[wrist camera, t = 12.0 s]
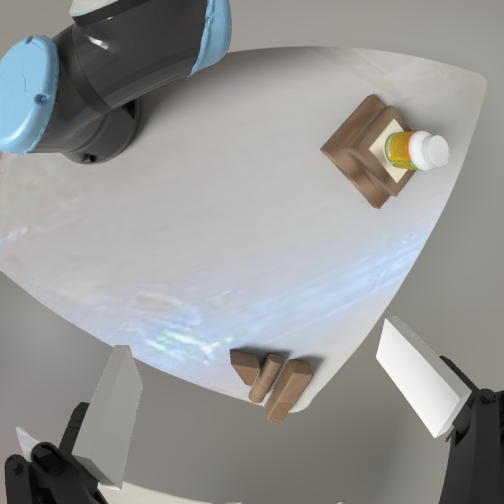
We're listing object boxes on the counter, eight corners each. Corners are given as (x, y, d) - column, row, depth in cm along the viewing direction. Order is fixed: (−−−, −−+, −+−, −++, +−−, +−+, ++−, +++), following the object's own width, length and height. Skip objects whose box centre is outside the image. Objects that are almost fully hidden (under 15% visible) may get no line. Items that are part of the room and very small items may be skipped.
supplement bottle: (380, 164, 35) (423, 168, 26) (382, 129, 33) (425, 124, 24) (407, 170, 36) (451, 176, 27) (410, 137, 34) (453, 136, 25)
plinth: (319, 149, 41) (338, 147, 34) (367, 96, 38) (390, 88, 32) (373, 207, 45) (396, 215, 38) (414, 153, 42) (439, 155, 36)
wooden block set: (318, 374, 48) (282, 428, 53) (309, 357, 54) (277, 410, 58) (233, 362, 45) (209, 421, 49) (231, 343, 50) (208, 402, 55)
